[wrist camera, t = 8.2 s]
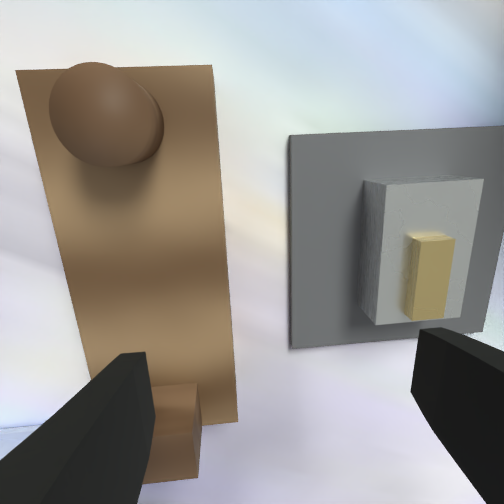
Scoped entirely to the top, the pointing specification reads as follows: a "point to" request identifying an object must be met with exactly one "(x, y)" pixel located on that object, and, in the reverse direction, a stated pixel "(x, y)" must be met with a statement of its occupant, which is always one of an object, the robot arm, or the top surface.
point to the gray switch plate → (350, 215)
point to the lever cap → (416, 246)
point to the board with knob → (143, 235)
